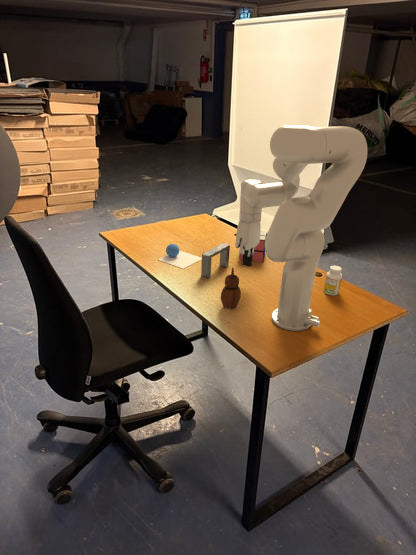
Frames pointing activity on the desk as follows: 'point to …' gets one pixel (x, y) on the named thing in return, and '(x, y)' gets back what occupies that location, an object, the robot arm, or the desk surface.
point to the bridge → (208, 255)
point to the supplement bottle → (333, 280)
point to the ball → (172, 250)
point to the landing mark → (181, 260)
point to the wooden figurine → (231, 291)
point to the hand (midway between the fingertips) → (247, 265)
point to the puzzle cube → (258, 249)
